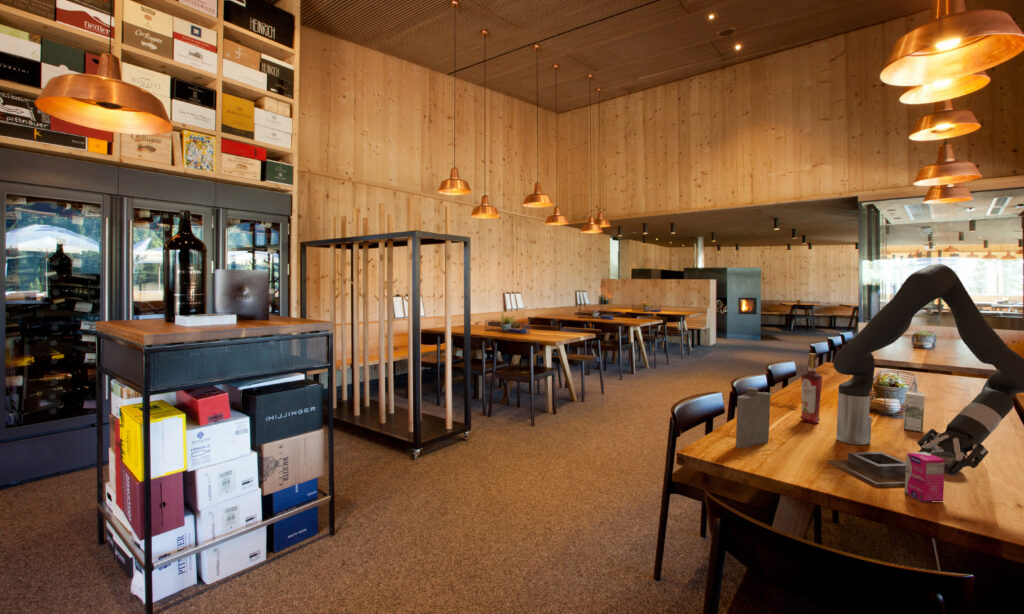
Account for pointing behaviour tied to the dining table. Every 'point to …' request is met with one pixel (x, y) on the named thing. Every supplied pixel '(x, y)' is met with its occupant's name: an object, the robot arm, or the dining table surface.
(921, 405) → the syrup box
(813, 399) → the liquor
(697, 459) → the dining table surface
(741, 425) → the hip flask
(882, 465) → the socket
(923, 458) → the supplement box
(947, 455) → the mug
